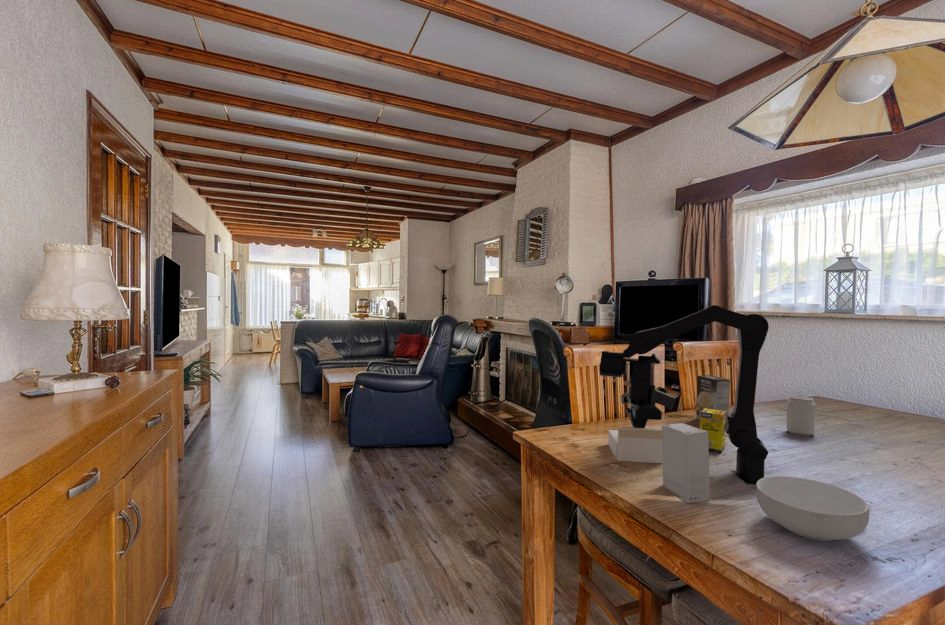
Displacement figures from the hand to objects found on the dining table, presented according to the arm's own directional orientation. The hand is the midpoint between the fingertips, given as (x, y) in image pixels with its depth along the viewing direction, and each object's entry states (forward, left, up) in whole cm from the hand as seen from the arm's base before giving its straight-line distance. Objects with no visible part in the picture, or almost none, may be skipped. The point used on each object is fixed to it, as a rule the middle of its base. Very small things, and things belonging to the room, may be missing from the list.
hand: (639, 437), depth 116 cm
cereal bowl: (-32, -23, -6) cm, 40 cm away
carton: (+4, 0, -6) cm, 8 cm away
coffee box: (+45, -36, -6) cm, 58 cm away
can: (+36, -60, -6) cm, 70 cm away
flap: (-2, 0, -6) cm, 6 cm away
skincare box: (-20, -5, -6) cm, 21 cm away
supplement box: (+14, -24, -6) cm, 29 cm away
